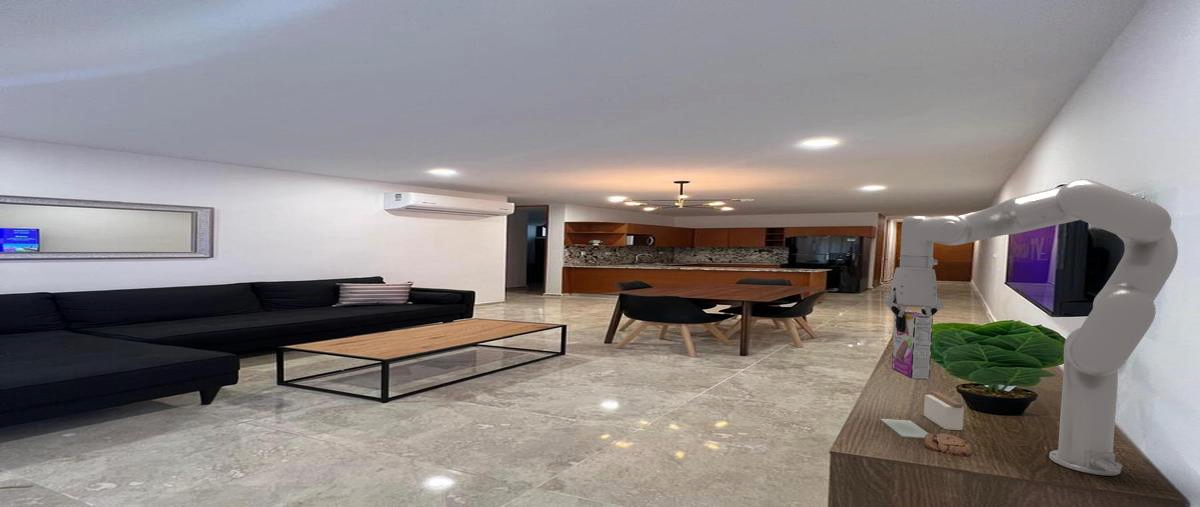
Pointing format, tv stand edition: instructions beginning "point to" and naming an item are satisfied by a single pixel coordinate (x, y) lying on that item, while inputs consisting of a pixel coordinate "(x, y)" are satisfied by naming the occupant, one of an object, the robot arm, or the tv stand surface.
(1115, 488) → the tv stand surface
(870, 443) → the tv stand surface
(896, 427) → the stub pad
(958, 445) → the cookie
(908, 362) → the candy bar box
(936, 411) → the block
